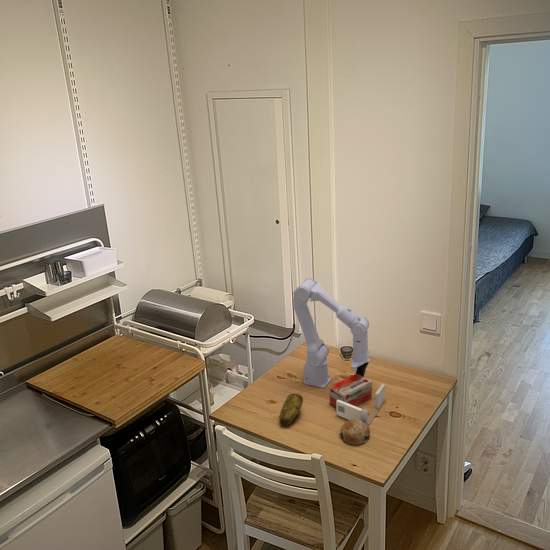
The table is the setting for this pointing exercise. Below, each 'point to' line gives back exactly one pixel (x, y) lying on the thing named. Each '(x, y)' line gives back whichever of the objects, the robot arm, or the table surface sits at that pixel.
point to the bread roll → (355, 432)
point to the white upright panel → (378, 401)
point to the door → (348, 411)
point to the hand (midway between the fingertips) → (360, 378)
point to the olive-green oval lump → (290, 408)
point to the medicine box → (351, 390)
